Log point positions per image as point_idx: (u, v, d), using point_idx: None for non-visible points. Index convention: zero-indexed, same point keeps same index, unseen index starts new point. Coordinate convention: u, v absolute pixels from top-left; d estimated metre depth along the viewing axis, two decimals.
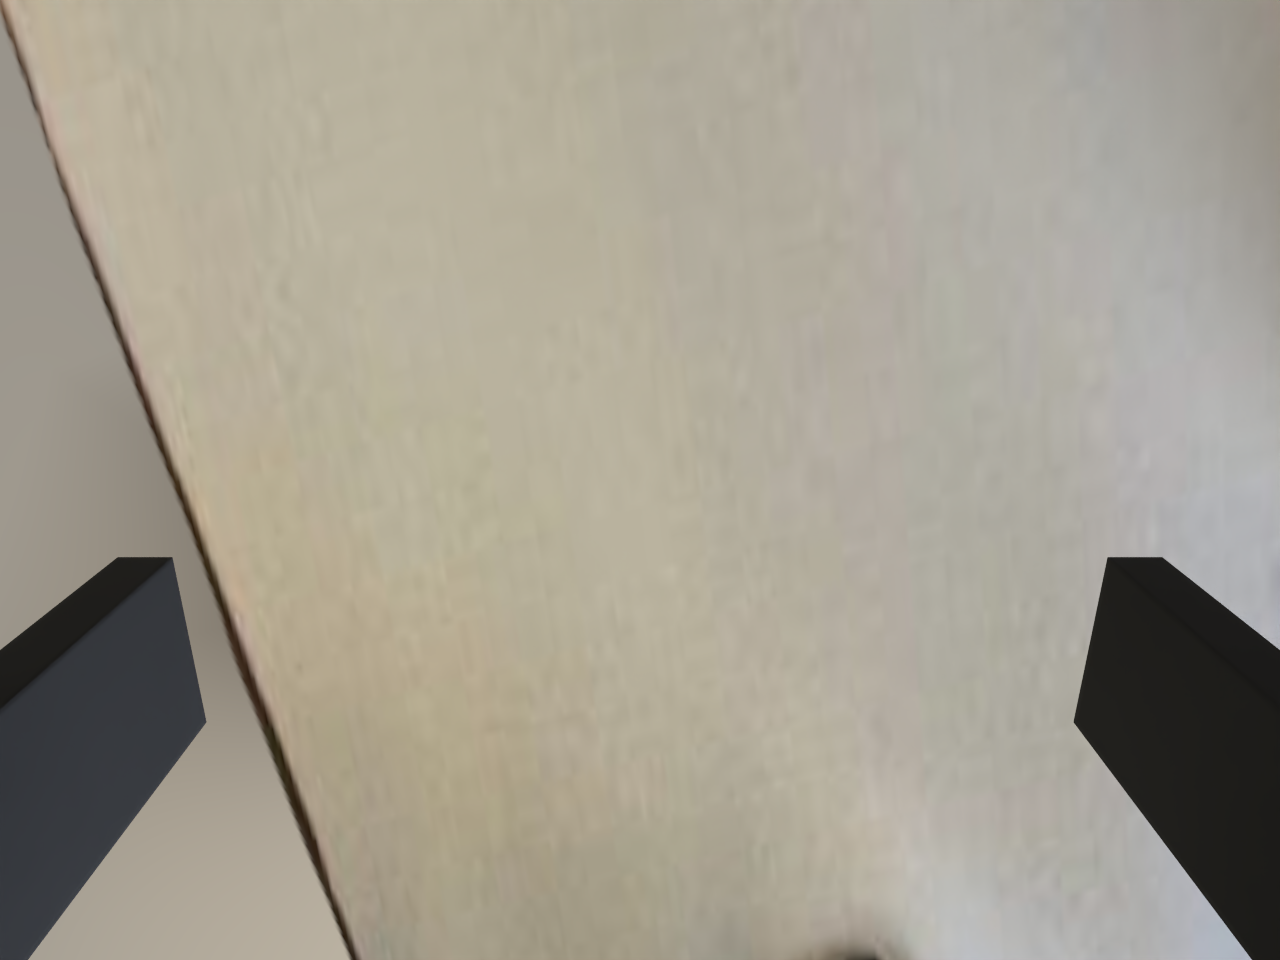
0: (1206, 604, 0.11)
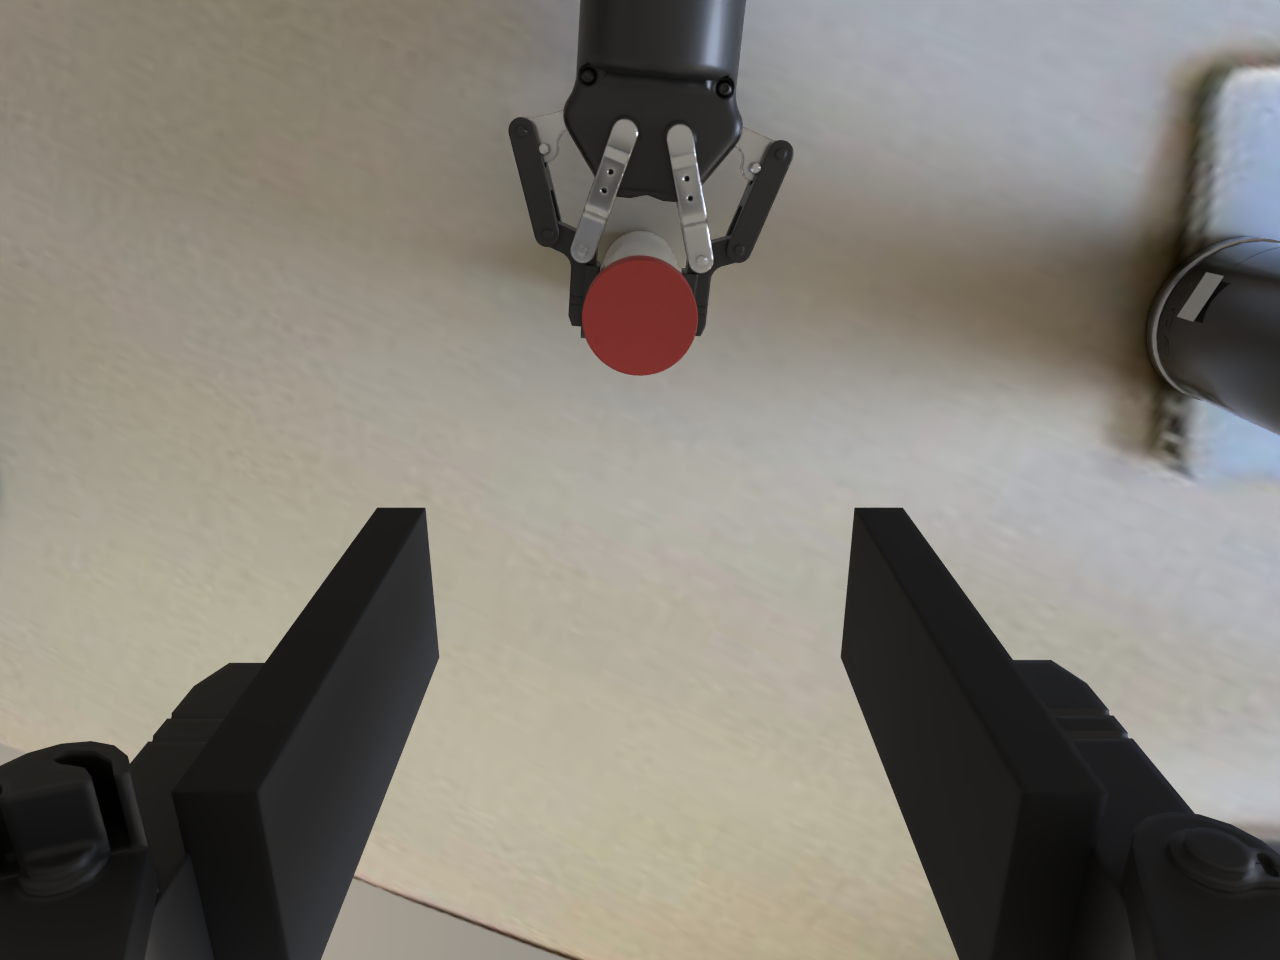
0: (914, 543, 0.13)
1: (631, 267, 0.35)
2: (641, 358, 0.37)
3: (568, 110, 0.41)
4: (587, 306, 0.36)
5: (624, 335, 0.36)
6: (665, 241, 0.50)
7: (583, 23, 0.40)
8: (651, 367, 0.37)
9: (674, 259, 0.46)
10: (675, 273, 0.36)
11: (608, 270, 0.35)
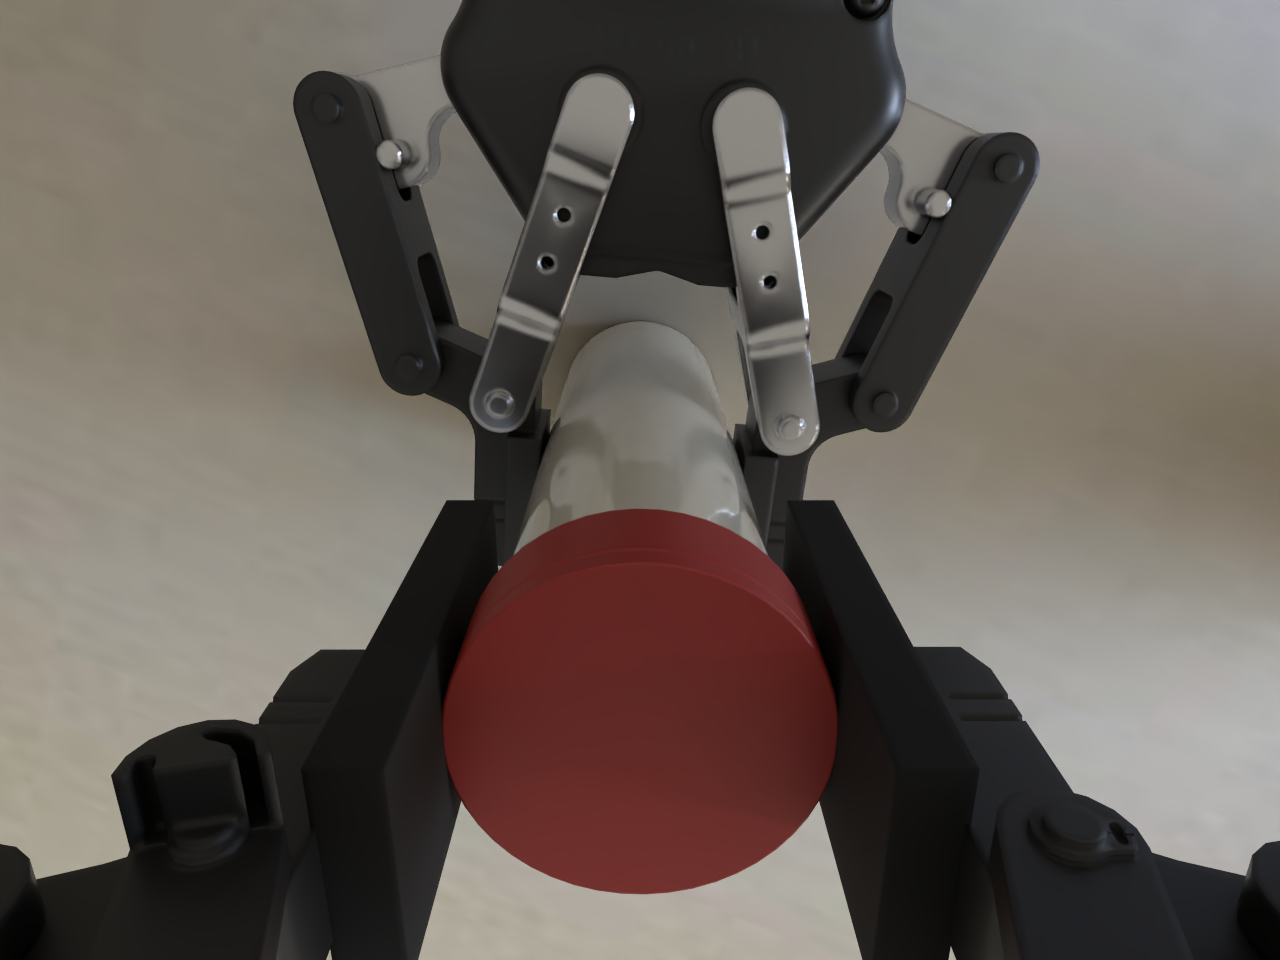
0: (838, 534, 0.13)
1: (609, 587, 0.10)
2: (645, 850, 0.11)
3: (451, 53, 0.16)
4: (458, 705, 0.10)
5: (588, 788, 0.11)
6: (692, 342, 0.24)
7: None
8: (678, 874, 0.11)
9: (718, 406, 0.20)
10: (768, 606, 0.10)
11: (527, 595, 0.10)
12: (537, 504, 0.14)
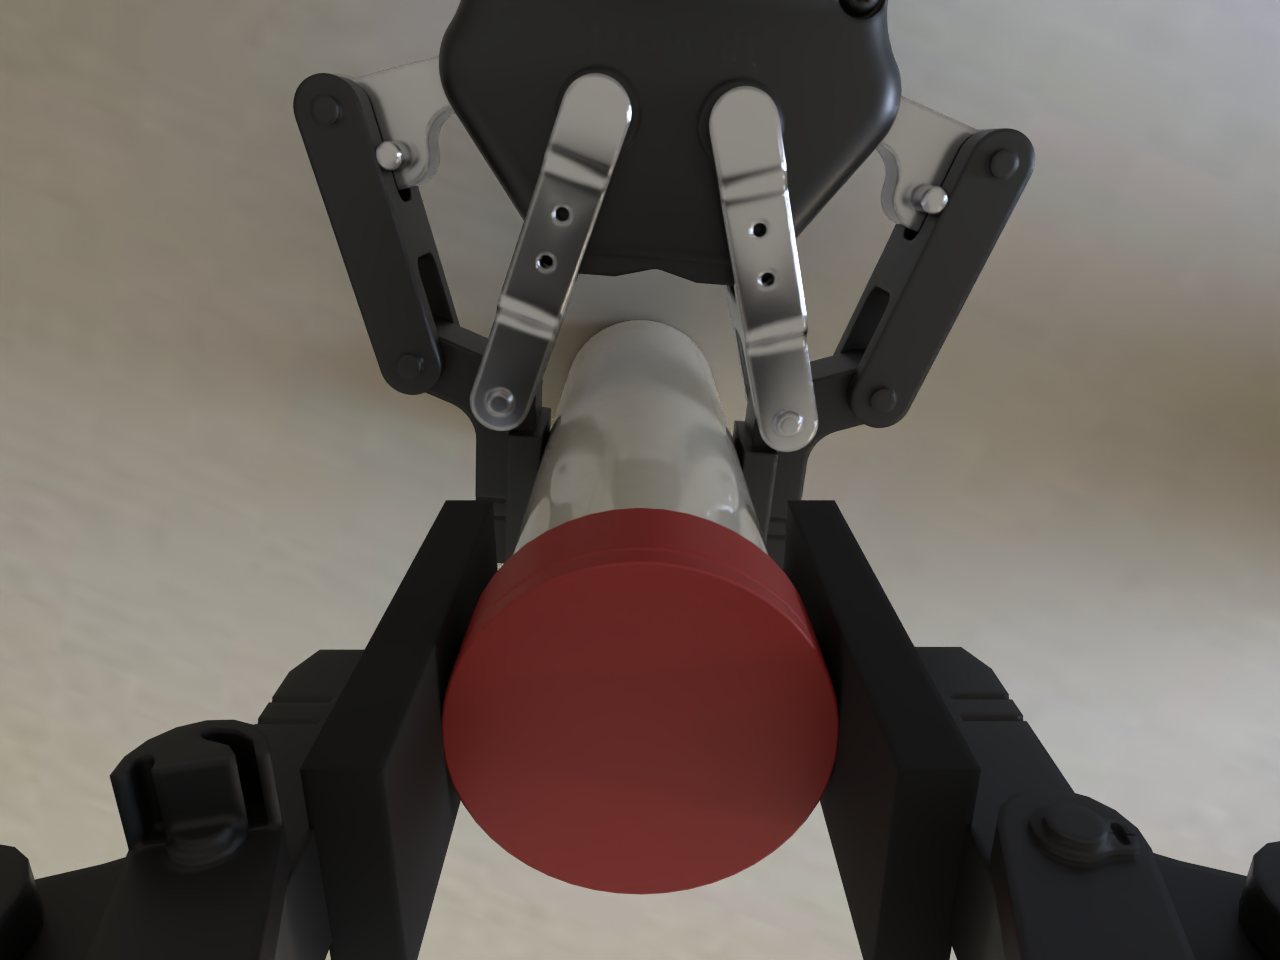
0: (839, 534, 0.13)
1: (523, 841, 0.11)
2: (751, 667, 0.10)
3: (449, 54, 0.16)
4: (707, 872, 0.11)
5: (717, 750, 0.11)
6: (691, 340, 0.25)
7: None
8: (759, 625, 0.10)
9: (718, 403, 0.20)
10: (444, 737, 0.10)
11: (576, 881, 0.11)
12: (537, 501, 0.14)
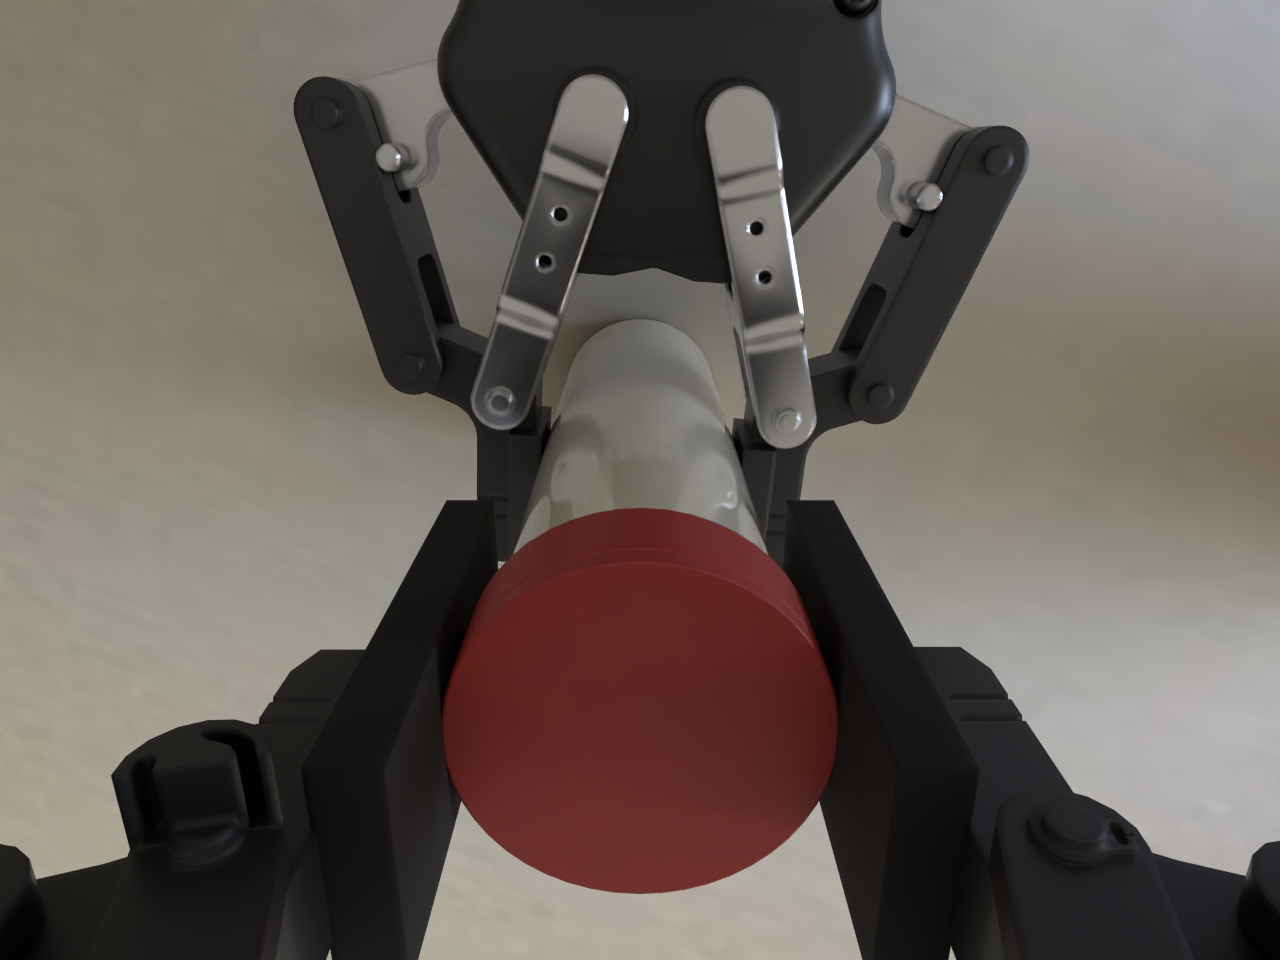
0: (838, 534, 0.13)
1: (812, 761, 0.11)
2: (505, 711, 0.10)
3: (447, 57, 0.16)
4: (740, 599, 0.10)
5: (600, 684, 0.10)
6: None
7: None
8: (465, 732, 0.10)
9: (717, 401, 0.20)
10: (744, 866, 0.11)
11: (831, 695, 0.10)
12: (538, 498, 0.14)
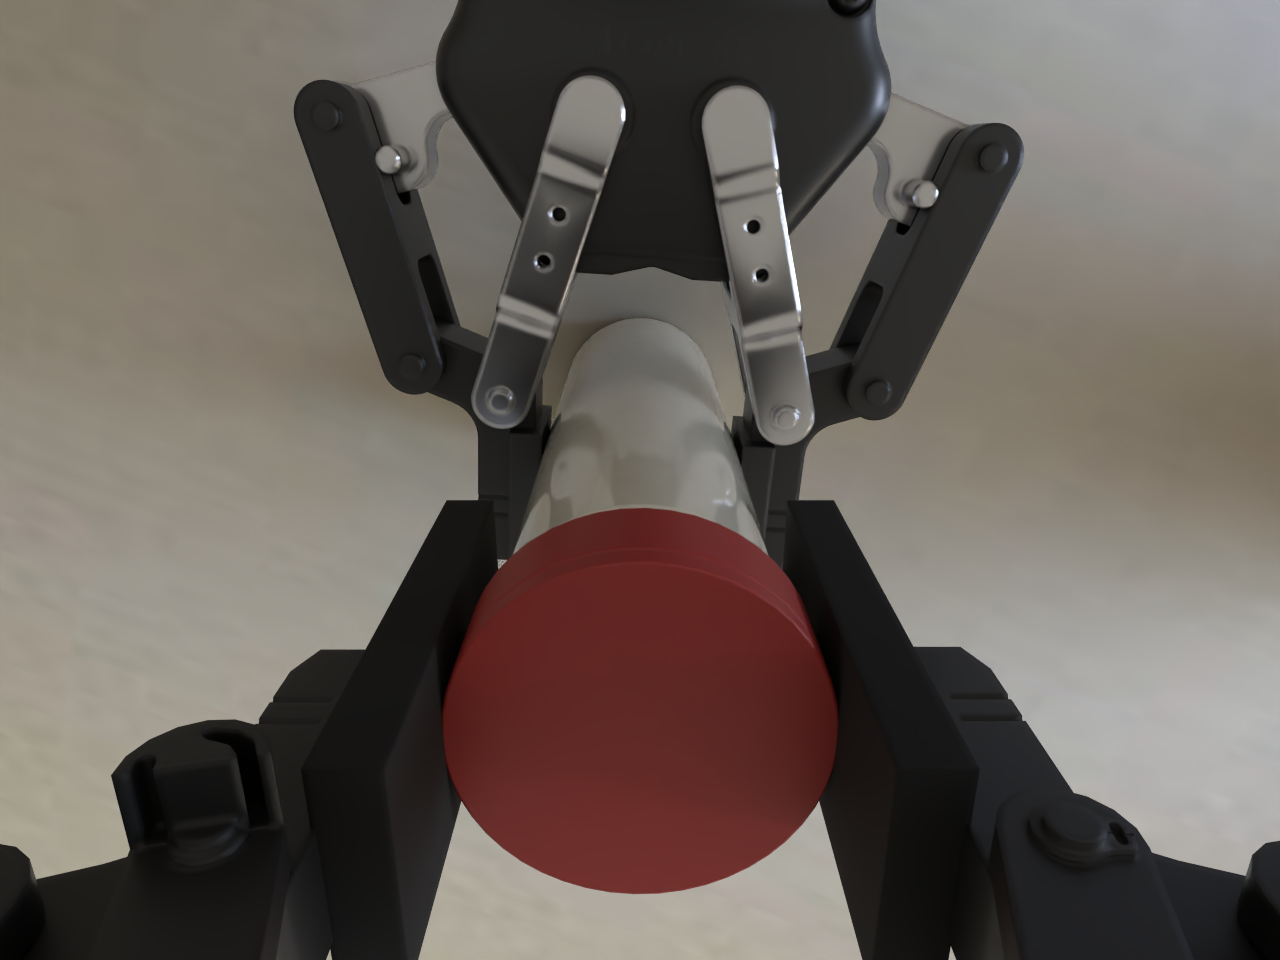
0: (838, 534, 0.13)
1: (551, 604, 0.10)
2: (687, 842, 0.11)
3: (445, 59, 0.16)
4: (458, 755, 0.11)
5: (609, 799, 0.11)
6: (690, 337, 0.25)
7: None
8: (728, 857, 0.11)
9: (716, 398, 0.20)
10: (708, 576, 0.10)
11: (479, 635, 0.10)
12: (538, 495, 0.14)
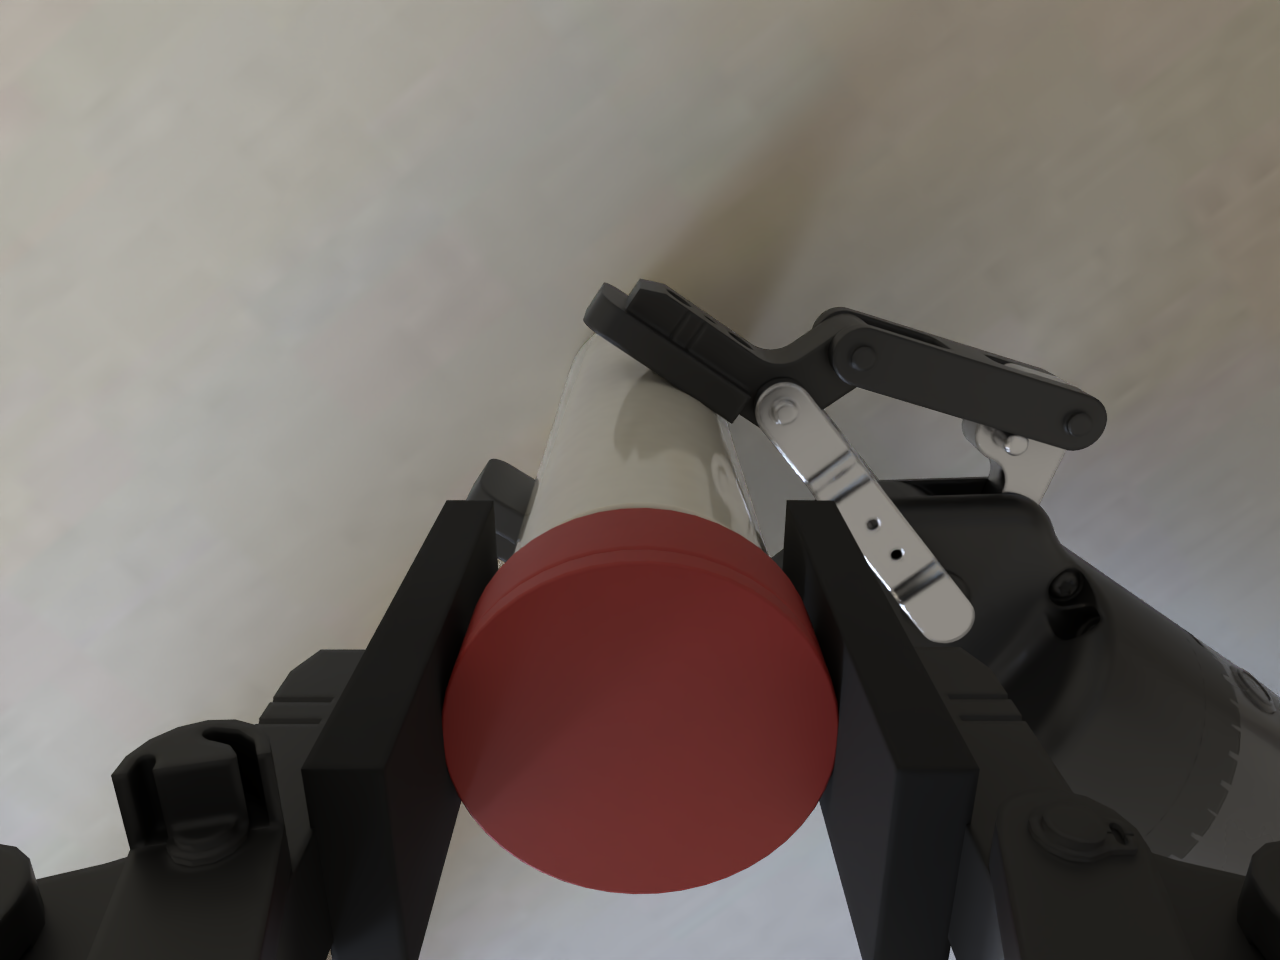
0: (838, 534, 0.13)
1: (551, 604, 0.10)
2: (687, 843, 0.11)
3: (1039, 522, 0.19)
4: (458, 755, 0.11)
5: (609, 799, 0.11)
6: None
7: (1153, 631, 0.20)
8: (728, 857, 0.11)
9: None
10: (709, 576, 0.10)
11: (479, 635, 0.10)
12: None
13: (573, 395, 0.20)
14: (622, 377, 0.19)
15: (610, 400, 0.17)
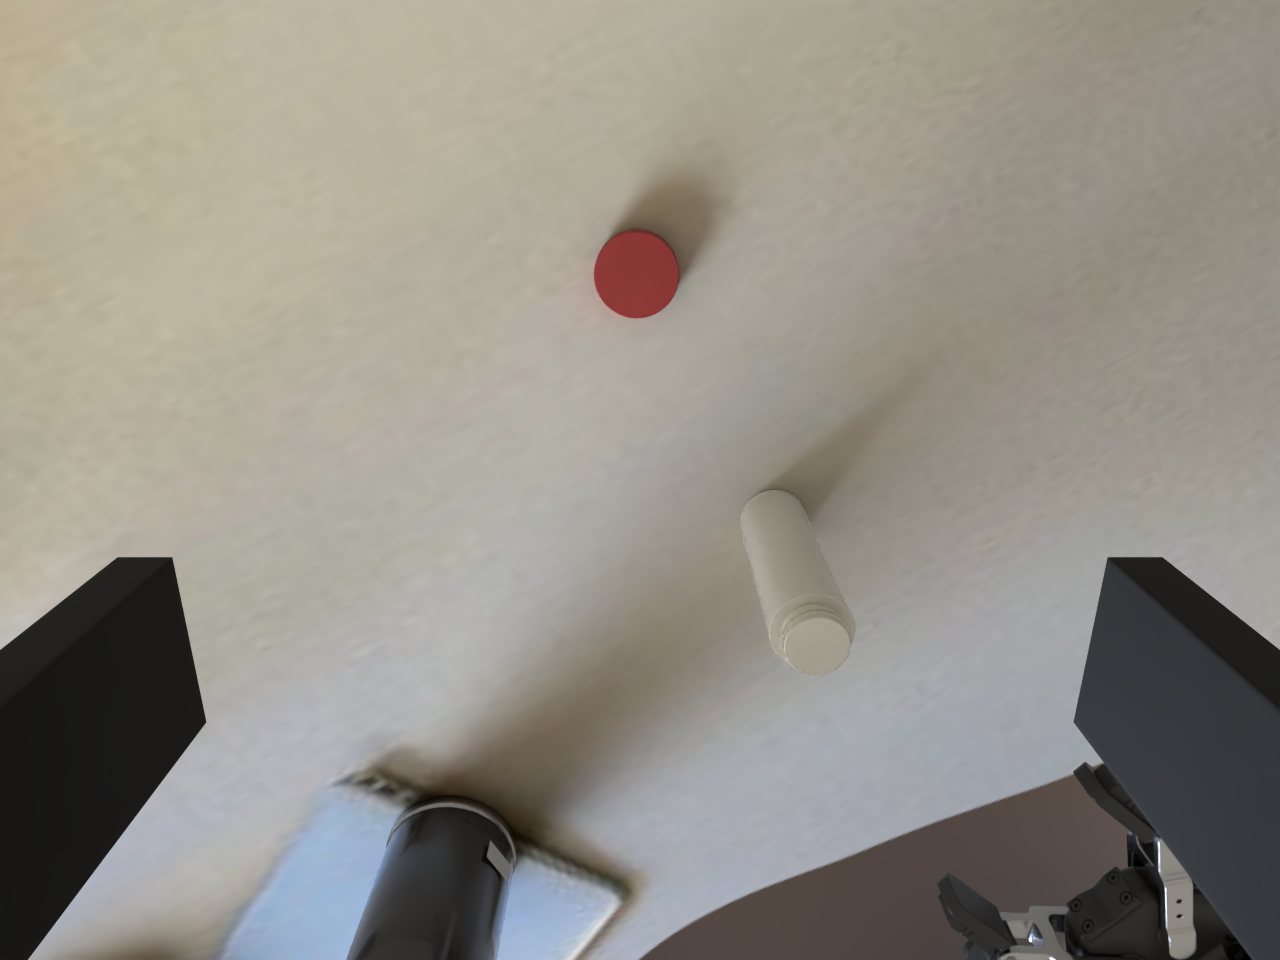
0: (1206, 604, 0.11)
1: (618, 241, 0.49)
2: (647, 303, 0.50)
3: None
4: (597, 279, 0.49)
5: (629, 291, 0.50)
6: None
7: None
8: (656, 307, 0.50)
9: None
10: (650, 235, 0.49)
11: (603, 249, 0.49)
12: None
13: (766, 535, 0.50)
14: (788, 533, 0.49)
15: (789, 545, 0.48)
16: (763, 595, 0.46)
